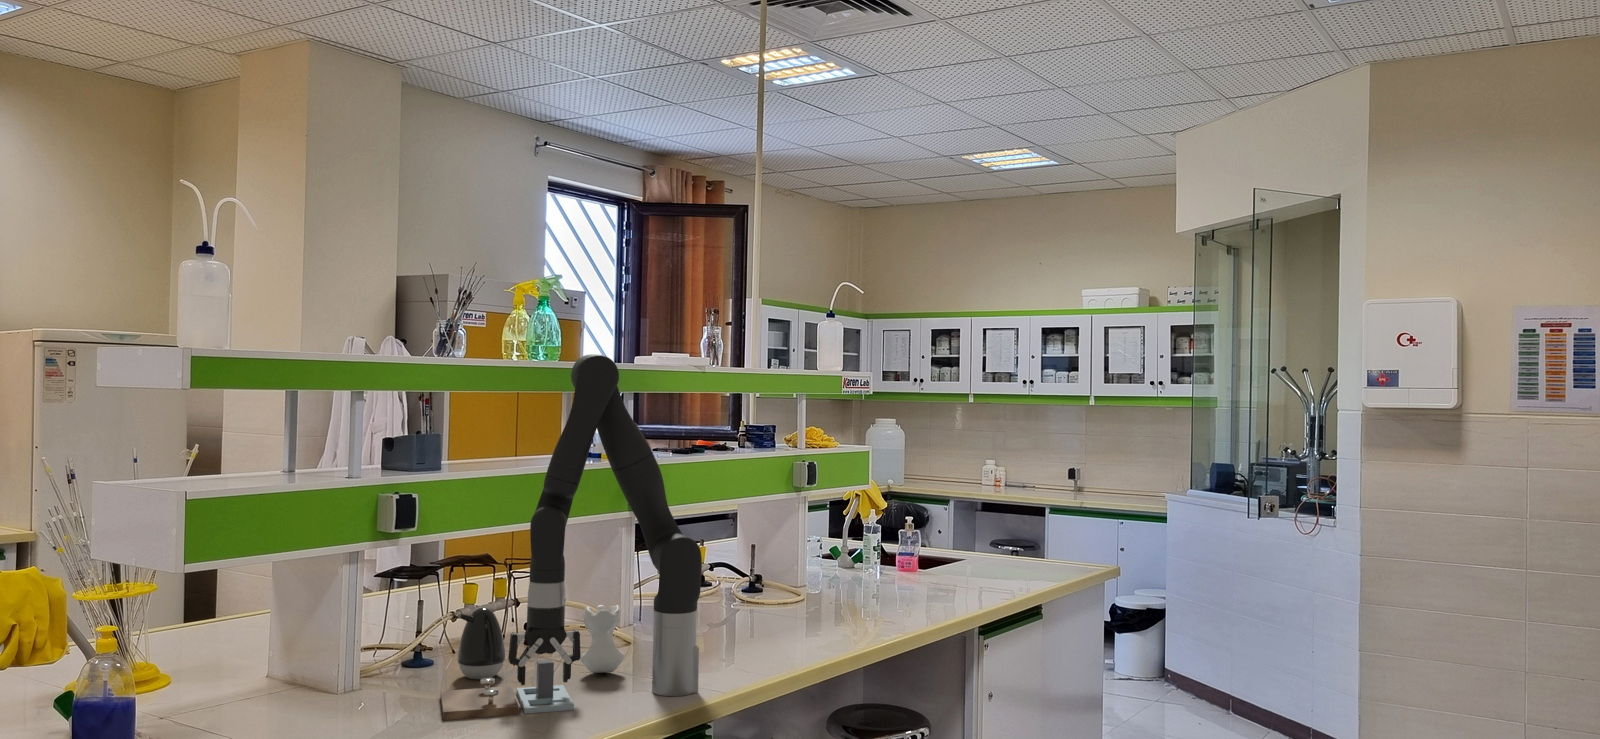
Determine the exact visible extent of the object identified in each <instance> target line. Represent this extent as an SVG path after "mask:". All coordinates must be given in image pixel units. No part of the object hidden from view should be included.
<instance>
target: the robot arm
mask: <svg viewBox="0 0 1600 739" xmlns="http://www.w3.org/2000/svg"><path fill="white" fill-rule="evenodd" d="M570 380H571V383H572V386H573V388H574V394H573V398H572V399H573V400H572V404H571V408H570V411H569V415H568V418H567V421H566V423H565V424H564V428H563V430H562V432H561V434H560V436H559V438H558V440H557V443H556V445H555V448H554V450H553V452H552V455H551V458H550V461H549V463H548V467H547V471H546V473H545V478H544V482H543V489H542V491H541V494H540V497H539V500H538V502H537V505H536V508H535V511H534V514H532V517H531V519H530V526H529V530H530V531H529V532H530V536H529V537H530V538H529V539H530V552H531V553H530V563H529V583H528V584H529V585H528V589H527V607H526V608H527V611H526V629H525V632H524V633H516V632H515V631H514V632H511V633H510V635H509V636H510V638H509V650H508V662H509V664H510V665H515V666H517V676H516V677H517V679H516V680H517V681H518V683H520V685H521V686H525V685H526V667H527V666H526V664H527V663H528V661H529V660H530V659H531V658H532V656H533V655H534V654H537V655H543V654H549V655H550V654H554V653H556V652H557V653H558V654H559V656H560V657H561V658H562V660H563V663H562V681H563V683H568V681H569V680H571V677H572V664H573V663H574V662H575V661H581V656H582V654H581V633H580V632H579V630H578V629H577V628H574V629H573V630H569V631H566V630H565V616H566V614H565V612H566V599H567V598H566V584H565V577H566V576H565V573H566V562H565V555H564V554H565V553H564V551H565V541H566V540H565V538H566V537H565V536H566V528H567V524H568V521H569V520H568V519H569V516H570V513H571V509H572V505H573V500H574V496H576V493H577V491H578V488H579V485H580V483H581V480H582V476H583V473H584V469H585V466H586V464H587V460H588V457H589V453H590V450H591V447H592V443H593V439H594V437H595V434H596V431H597V432H598V436H599V439H600V443H601V445H602V447H603V451H604V454H605V456H606V458H607V460H608V463H609V466H610V468H611V470H612V472H613V475H614V477H615V479H616V481H617V484H618V486H619V488H620V489H621V492H622V494H623V495H624V498H625V500H626V501H627V503H628V505H629V508H630V509H631V511H632V514H634V516H635V518H636V520H637V522H638V525H639V526H640V530H641V533H642V535H643V538H644V541H645V545H646V549H647V551H648V554H649V559H650V561H651V563H652V565H653V566H654V568H655V569H656V570H657V571H658V572H659V574H658V575H659V578H658V591H657V593H656V595H655V596H654V598H653V621H652V622H653V625H652V628H653V629H652V630H653V632H652V636H653V637H652V666H651V668H652V672H651V674H652V675H651V676H652V678H651V692H652V693H653V694H655V695H658V696H663V697H664V696H666V697H679V696H681V697H682V696H687V695H690V694H691V695H692V694H695V693H696V694H697V693H699V672H700V670H699V668H700V666H699V665H700V662H699V661H700V647H699V646H698V645H697V636H698V634H697V628H698V626H697V624H698V623H697V622H698V621H697V620H698V602H699V598H700V596H701V590H702V588H701V587H702V586H701V585H702V571H703V570H702V568H703V562H702V561H703V559H702V558H703V557H702V552H701V549H700V548H701V547H700V546H699V544H698V543H697V541H695V540H694V539H693V538H691V537H689V536H687V535H685V534H683V532H682V531H681V530H680V528H679V526H678V524H677V522H676V520H675V518H674V516H673V514H672V512H671V510H670V507H669V505H668V500H667V494H666V487H665V481H664V478H663V475H662V471H661V469H660V466H659V463H658V462H657V459H656V457H655V455H654V452H653V450H652V447H650V444H649V442H648V441H647V439H646V437H645V435H644V434H643V433H642V431H641V429H640V427H639V426H638V425H637V423H636V421H635V420H634V419H633V417H632V416H631V414H630V413H629V412H628V409H627V407H626V405H625V403H624V401H623V398H622V397H623V396H622V395H621V393H620V392H621V391H620V390H619V387H618V384H619V381H620V371H619V369H618V366H617V364H616V362H615V361H613V359H611V358H609V357H608V356H606V355H603V354H597V353H593V354H586V355H583V356H581V357H579V358H578V359H576V360H575V362H574V365H573V366H572V368H571V372H570ZM566 638H568V640H569V641H570V642H571V643H572V654H569V655H568V653H567V652H566V650H565V649H564V648H563V646H562V644H563V643H564V642H565V640H566ZM523 640H525V642H526V643H527V646H526V648H525V649H524V650H523V652H522V654H521V655H520V657H517V652H518V650H517V648H518V645H520V644H521V643H522V641H523Z"/></svg>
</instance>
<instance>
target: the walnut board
mask: <svg viewBox="0 0 1600 739" xmlns="http://www.w3.org/2000/svg"><path fill="white" fill-rule="evenodd" d="M479 682H480V685H482V686H484V687H479V688H467V689H466V688H465V689H454V690H451V689H450V690H441V691H440V695H439V696H440V706H441V711H442V719H443V721H446V720H447V721H449V720H461V719H470V718H471V719H473V718H485V717H486V718H487V717H499V716H500V717H501V716H510V715H519V707H520V706H519V704H518V701H517V698H516V696H515V693H514V691H513V688H512V686H511V685H507V686H492V687H491V685H494V684H495V682H496V678H494V677H491V678H482V679H480V681H479Z"/></svg>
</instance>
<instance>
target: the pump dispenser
mask: <svg viewBox="0 0 1600 739" xmlns="http://www.w3.org/2000/svg"><path fill="white" fill-rule="evenodd" d="M459 618H460V619H461V620H463V621H465V622H466V623H465V625H464V628H463V630H462V633H461V636H460V641H459V646H458V651H457V658H456V659H457V664H458V665H459V666H458V667H459V669H460V672H461V673H462V675H464V676H465V677H466V678H468V679H470V680H480V681H481V679H482V678H494V677H495V676H496V675H498V674H499V673H500V671H501V670H502V668H503V665H504V661H505V660H506V648H505V647H506V646H505V641H504V636H503V631H502V628H501V625H500V623H499V620H498V618H497V616H496V615H495V613H494V611H493V610H491V609H490V608H488V607H478V608H476V609H475V610H473V612H472V613H471V614H470V615H468V614H465V613H461V614H460V616H459Z"/></svg>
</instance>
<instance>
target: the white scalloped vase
mask: <svg viewBox="0 0 1600 739" xmlns="http://www.w3.org/2000/svg"><path fill="white" fill-rule="evenodd" d="M593 610H594V609H593V607H591V606H586V607H585V608H584V611H583V614H582V615H583V616H582V617H583V624H584V628H585V629H587V632H588V633H589V635H590V636H591V642H590V643H591V644H590V645H589V648H588V649H587V650H586V651H585V652H584V653H583V654H581V658H580V661H581V662H580V663H581V664H582V665H583V666H584V667H585V668H586V669H587V670H588V671H589V672H590V673H593V674H595V673H596V674H597V673H600V674H601V673H602V674H603V673H613V672H615V671H616V670H617V669H618V667H620V665H621V664H622V663H623V661H624V660H625V654H624V653H623V652H622V651H621V650H620V649H619V648H617V646H616V644H615V640H614V638H613V637H614V632H615V630H616V627H618V626H619V624H620V622H621V621H620V620H621V614H622V610H621V607H620V606H619V605H618V604H616V605H611V606H610V610H608V609H606V606H605V605H602V604H598V605H597V607H596V612H594V611H593Z"/></svg>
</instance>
